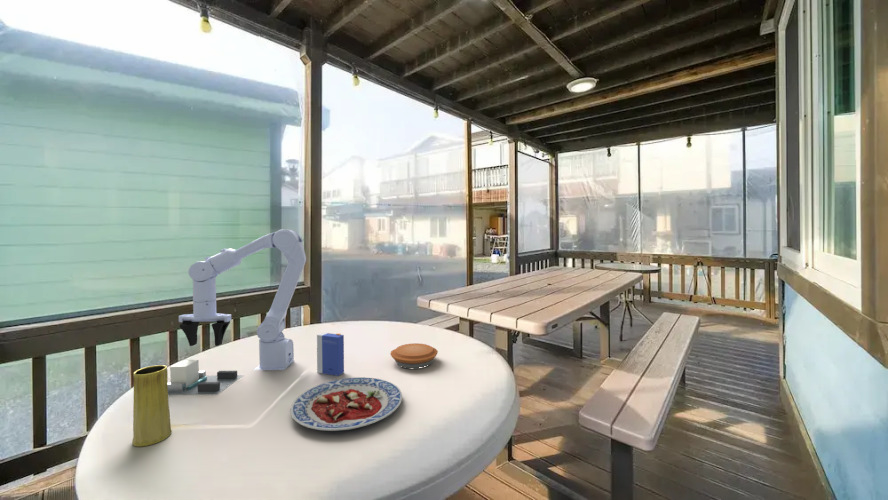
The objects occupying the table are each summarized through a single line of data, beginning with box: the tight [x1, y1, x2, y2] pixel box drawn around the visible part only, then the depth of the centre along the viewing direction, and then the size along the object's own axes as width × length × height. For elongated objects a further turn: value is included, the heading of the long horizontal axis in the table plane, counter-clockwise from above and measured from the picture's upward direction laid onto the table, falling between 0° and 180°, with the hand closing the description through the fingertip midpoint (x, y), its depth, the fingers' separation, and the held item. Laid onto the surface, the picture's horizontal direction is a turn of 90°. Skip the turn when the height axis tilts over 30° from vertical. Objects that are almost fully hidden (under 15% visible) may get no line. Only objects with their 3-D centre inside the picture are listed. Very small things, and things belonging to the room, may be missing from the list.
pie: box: [389, 342, 439, 369], centre depth 111 cm, size 16×16×5 cm
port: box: [168, 370, 207, 392], centre depth 93 cm, size 7×9×2 cm
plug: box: [169, 359, 200, 388], centre depth 93 cm, size 4×5×6 cm
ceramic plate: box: [290, 376, 403, 432], centre depth 82 cm, size 26×26×3 cm
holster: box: [198, 370, 238, 392], centre depth 93 cm, size 5×9×2 cm, turn 1°
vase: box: [131, 364, 172, 448], centre depth 69 cm, size 6×6×14 cm
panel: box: [168, 374, 244, 396], centre depth 93 cm, size 16×12×1 cm
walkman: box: [316, 332, 345, 377], centre depth 102 cm, size 8×3×12 cm, turn 70°
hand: (205, 345), depth 102 cm, fingers open, 7 cm apart
